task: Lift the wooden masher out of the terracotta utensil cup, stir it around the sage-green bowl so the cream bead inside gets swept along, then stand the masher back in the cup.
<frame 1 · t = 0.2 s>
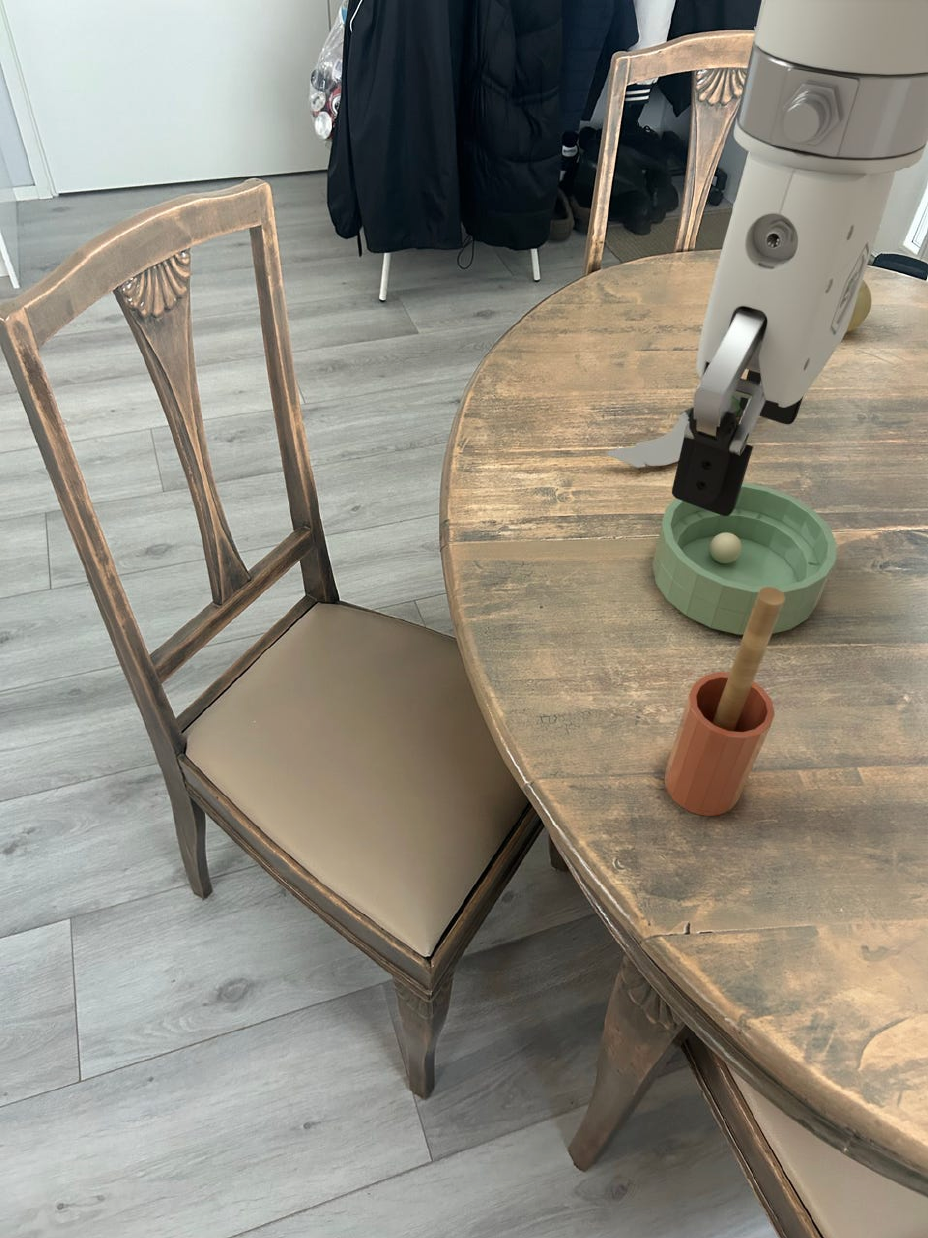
hand: (735, 457, 47), 30 cm above the table, tool pointing down, fingers open, 9 cm apart
utensil cup: (701, 783, 68), on the table
bowl: (733, 580, 85), on the table
potato: (829, 331, 120), on the table
bead: (725, 547, 85), point 2 cm above the table, touching bowl
wooden masher: (703, 779, 68), point 1 cm above the table, touching utensil cup
knife: (683, 445, 101), on the table
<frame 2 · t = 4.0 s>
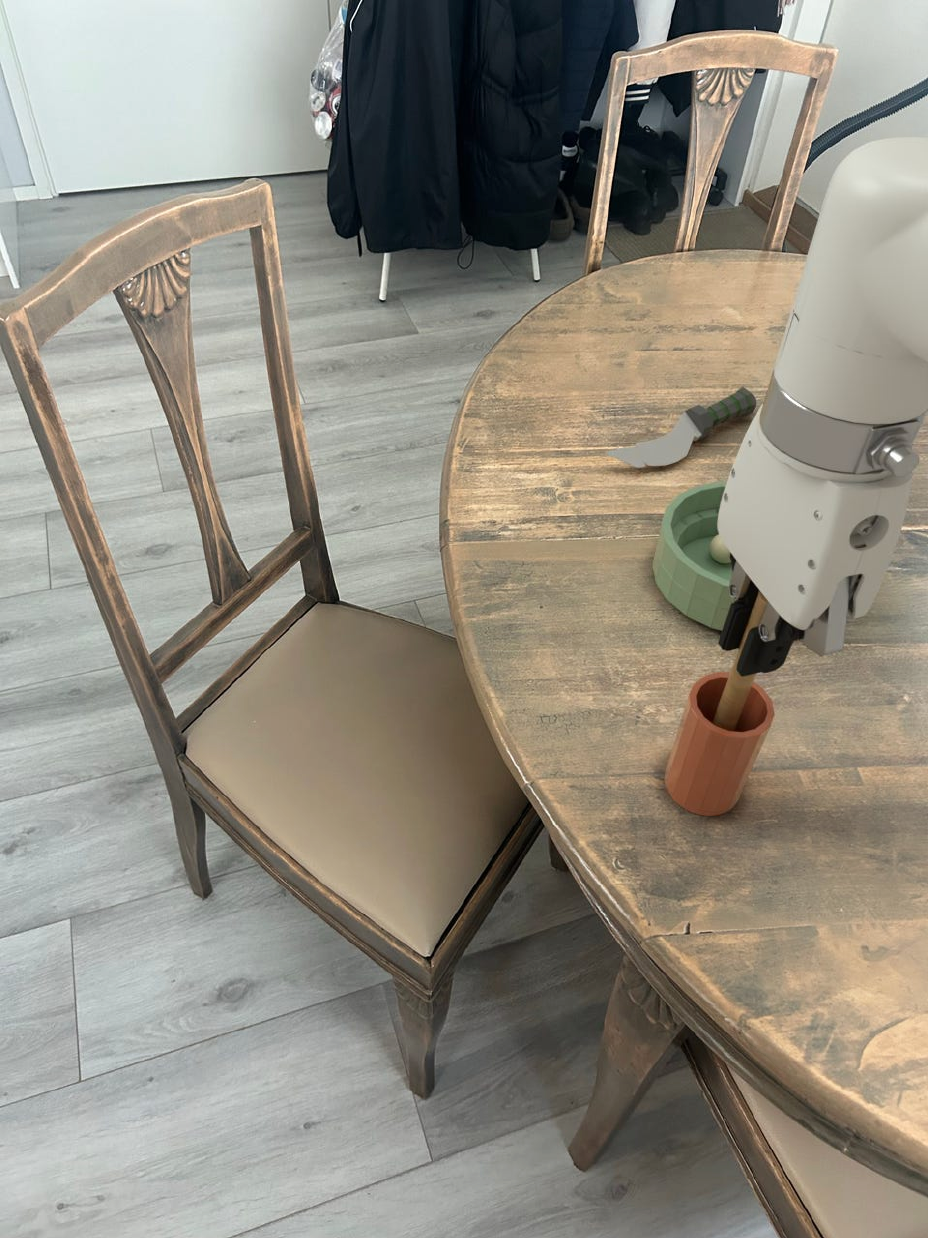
hand: (749, 655, 58), 15 cm above the table, tool pointing down, fingers closed on wooden masher, 1 cm apart
wooden masher: (703, 779, 68), point 1 cm above the table, touching gripper, utensil cup
everything else where it was.
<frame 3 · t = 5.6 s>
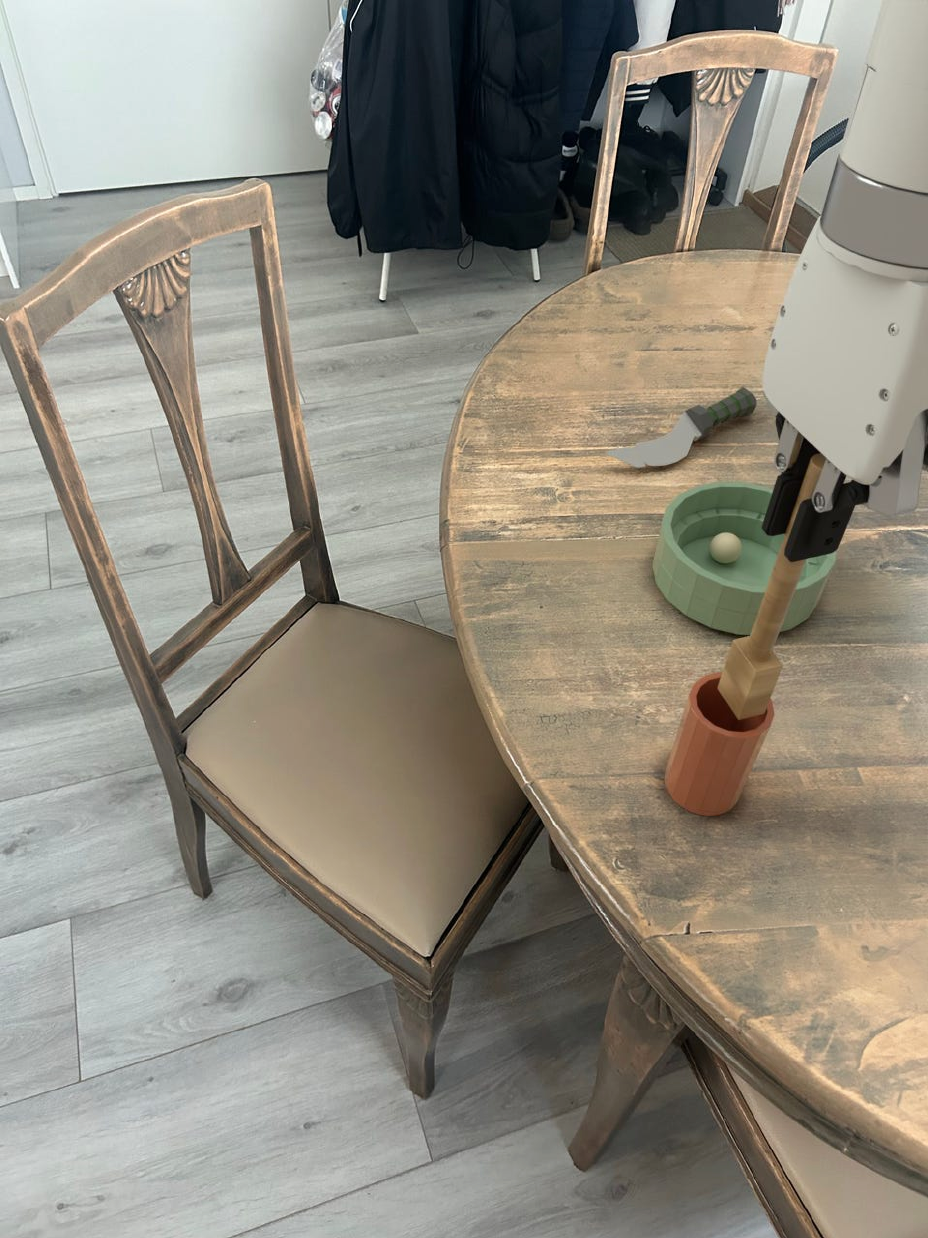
hand: (798, 540, 50), 25 cm above the table, tool pointing down, fingers closed on wooden masher
wooden masher: (740, 700, 61), point 11 cm above the table, touching gripper
everything else where it was.
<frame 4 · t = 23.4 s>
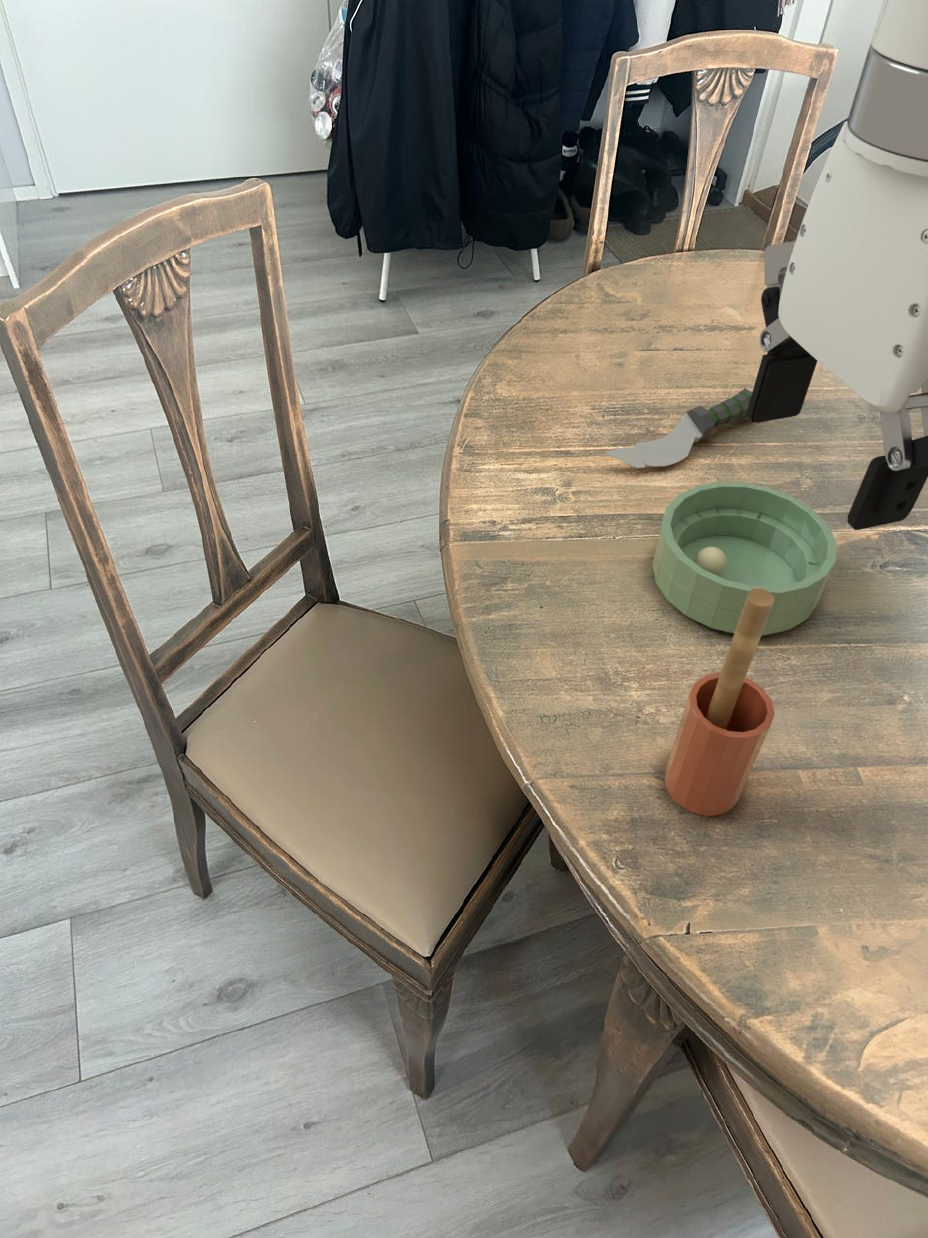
hand: (820, 465, 47), 30 cm above the table, tool pointing down, fingers open, 9 cm apart
bead: (710, 562, 83), point 2 cm above the table, tilted 29°, touching bowl
wooden masher: (695, 780, 68), point 1 cm above the table, touching utensil cup
everything else where it was.
at the end: bead moved 2.8 cm from its start; wooden masher 0.7 cm off-centre in the utensil cup, point 0.6 cm above the utensil cup's base; wooden masher tilted 0° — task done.
